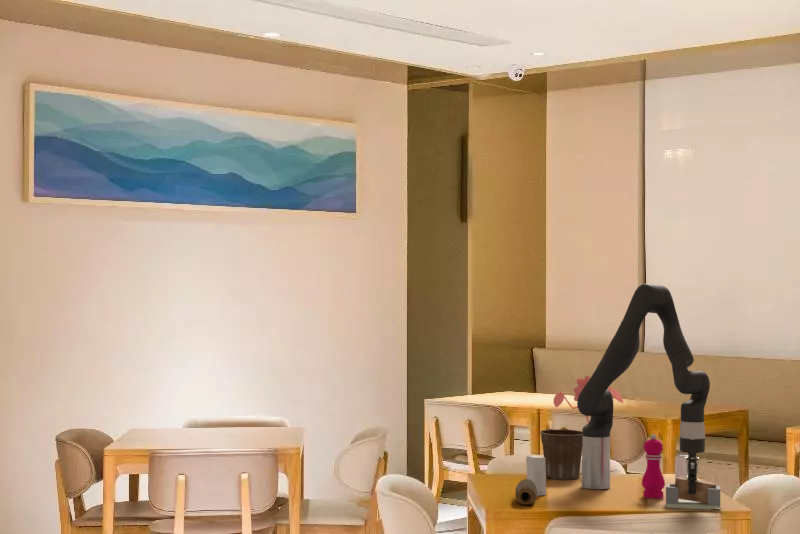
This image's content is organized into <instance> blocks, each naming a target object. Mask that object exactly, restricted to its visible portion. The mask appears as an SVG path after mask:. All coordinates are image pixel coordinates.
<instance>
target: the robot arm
mask: <svg viewBox="0 0 800 534" xmlns="http://www.w3.org/2000/svg"><path fill="white" fill-rule="evenodd" d="M649 313H650V314H656V315H657V316H658V318H659V319H660V321H661V323H662V327H663V336H662V337H663V339H662V343H663V347H664V348H663V349H664V351H665V354H666V356H667V359H668V360H669V363H670V364H671V369H672V376H673V382H674V386H675V388H676V390H677V391H678V392H679V393H681V394H683V395H690V398H689V400H687V401H684V402H683V403H681V404H680V423H679V451H680V452H681V453H684V454H688V457H686V471H687V474H688V481H689V494H696V481H697V480H698V474H699V464H700V458H699V457H697V454H703V453H705V451H706V427H705V408H706V407H705V406H706V403H707V400H708V396H709V393H710V386H711V382H710V378H709V376H708V374H707V373H706V372H705V371H703V370H691V371H690V370H689V369H688V368H689V367H691V366H692V365H693V364H694V362H695V360H694V359H695V358H694V354H693V353H692V351H691V349H690V347H689V344H688V343H687V341H686V338H685V336H684V333H683V331H682V328H681V325H680V320H679V317H678V314H677V310H676V307H675V303H674V299H673V296H672V294H671V291H670V289H668V288H667V287H666V286H664V285H661V284H657V283H656V284H655V283H642V284H640V285H639V286H638V287H637V288H636V289H635V291H634V292H633V295H632V298H631V300H630V302H629V304H628V307H627V309H626V311H625V314H624V316H623V317H622V320H621V322H620V324H619V326H618V329H617V330H616V332H615V334H614V336H613V337H612V338H611V341H610V342H609V344H608V346H607V348H606V349H605V351H604V354H603V355H602V358H601V359H600V361H599V363H598V364H597V367H596V368H595V370H594V372H593V373H592V374H591V376H590V377H591V378H590V379H589V381H588V382H587V384H586V385H585V386H584V388H583V389H582V391H581V392H580V394H579V397H578V401H576V404H577V406H578V408H577V410H578V412H579V413H580V414H582V415H583V416H585V417H586V416H588V417H590V419H589V420H588V421H589V423H588V422H587V424H586V425H584V426H583V427H582V430H581V431H582V435H583V436H582V455H581V489H588V490H608V489H611V472H610V471H611V432H612V428H613V423H614V397H613V396H612V395H611V393H610V391H609V387H611V385H612V384H613V382H614V381H616V380H617V379H618V378H619V377H621V375H623V374H624V373H625V372H626V371H627V370H628V369H629V367H630V366H631V365H632V363H633V362H634V361H635V359H636V356H637V354H638V352H639V350H640V345H641V343H640V339H641V338H640V328H641V325H642V323H643V321H644V319H645V317H646V316H647V315H648V314H649ZM577 406H576V407H577Z"/></svg>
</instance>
